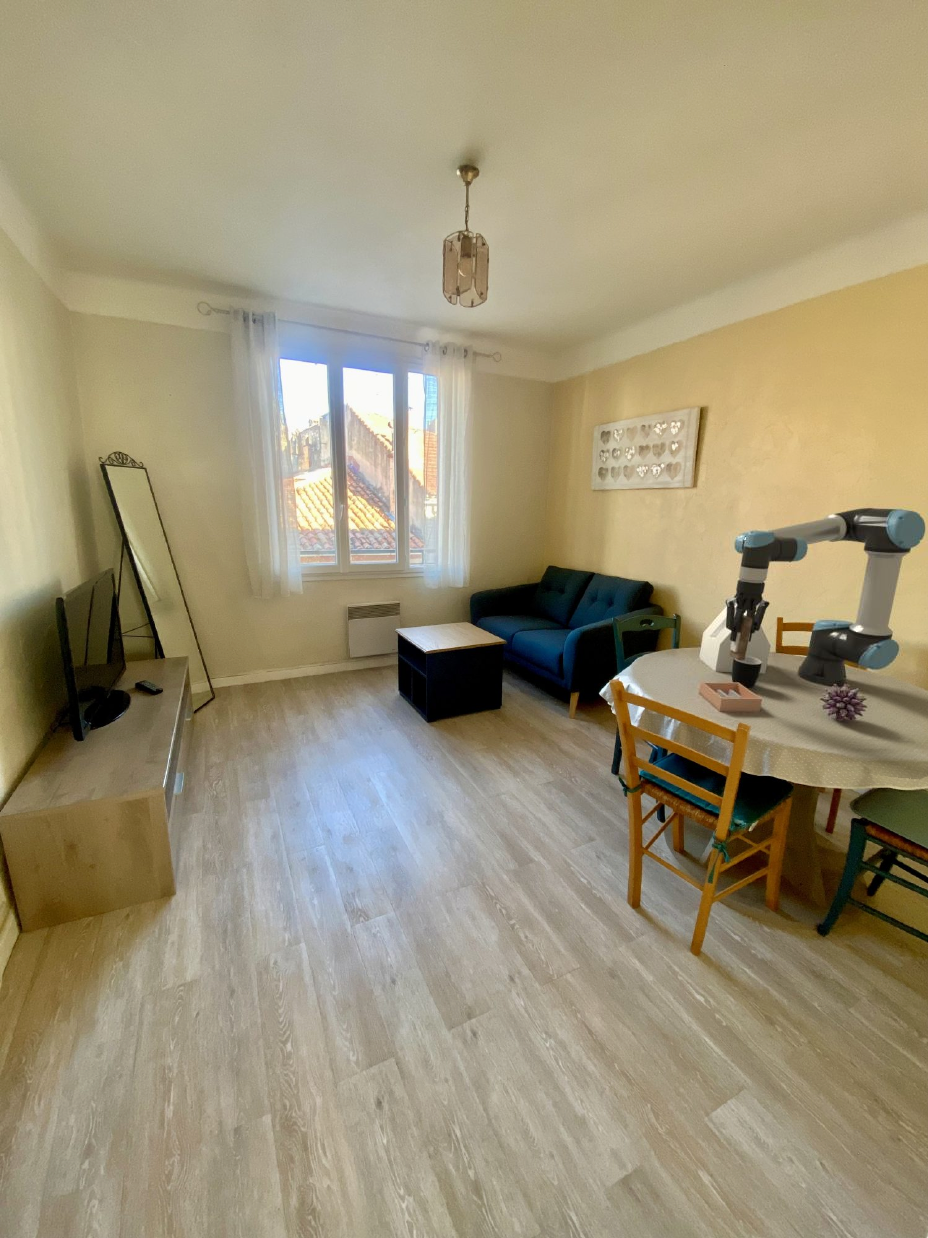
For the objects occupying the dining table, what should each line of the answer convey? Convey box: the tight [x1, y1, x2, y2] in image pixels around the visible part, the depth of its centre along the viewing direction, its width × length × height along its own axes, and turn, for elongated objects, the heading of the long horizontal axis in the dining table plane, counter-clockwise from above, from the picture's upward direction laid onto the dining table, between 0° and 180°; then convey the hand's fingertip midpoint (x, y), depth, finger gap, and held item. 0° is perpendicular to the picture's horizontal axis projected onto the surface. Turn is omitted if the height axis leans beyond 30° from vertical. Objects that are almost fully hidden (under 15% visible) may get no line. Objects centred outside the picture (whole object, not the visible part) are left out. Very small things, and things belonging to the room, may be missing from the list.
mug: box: [731, 656, 762, 690], centre depth 176 cm, size 12×9×10 cm
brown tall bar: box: [730, 615, 752, 660], centre depth 155 cm, size 2×4×14 cm, turn 1°
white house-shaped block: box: [698, 603, 772, 674], centre depth 193 cm, size 19×15×25 cm
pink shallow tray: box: [698, 681, 763, 713], centre depth 161 cm, size 13×13×4 cm
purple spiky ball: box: [819, 683, 868, 722], centre depth 149 cm, size 12×12×12 cm
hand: (738, 650), depth 157 cm, fingers closed on brown tall bar, 2 cm apart
